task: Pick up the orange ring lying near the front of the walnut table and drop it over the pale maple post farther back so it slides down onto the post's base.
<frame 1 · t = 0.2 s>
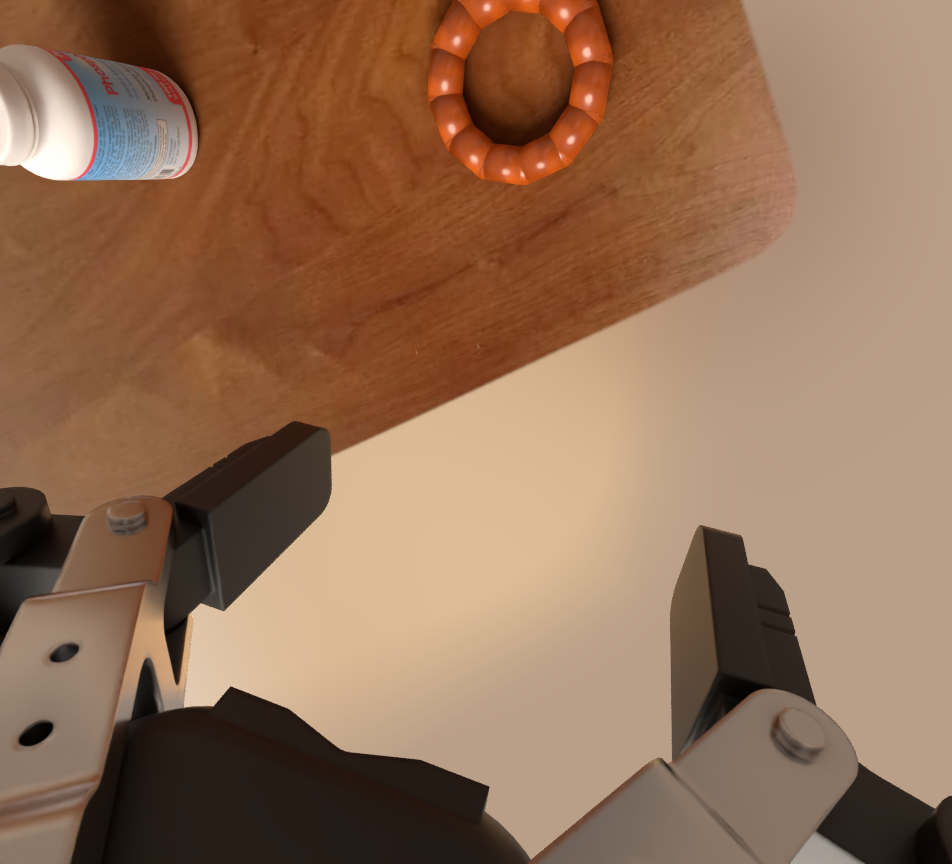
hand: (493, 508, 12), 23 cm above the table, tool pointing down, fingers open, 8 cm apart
ring: (516, 81, 27), point 1 cm above the table
pill bottle: (165, 126, 35), on the table
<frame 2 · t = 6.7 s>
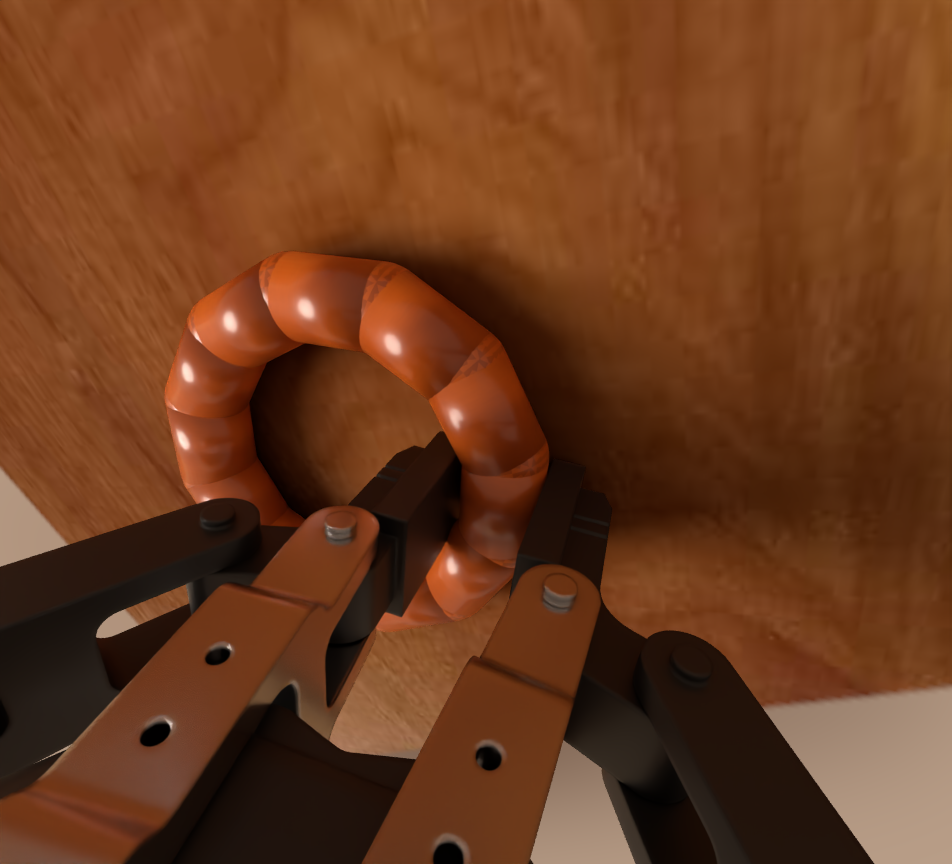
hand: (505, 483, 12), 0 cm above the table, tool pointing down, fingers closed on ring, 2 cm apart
ring: (347, 462, 13), point 1 cm above the table, touching gripper
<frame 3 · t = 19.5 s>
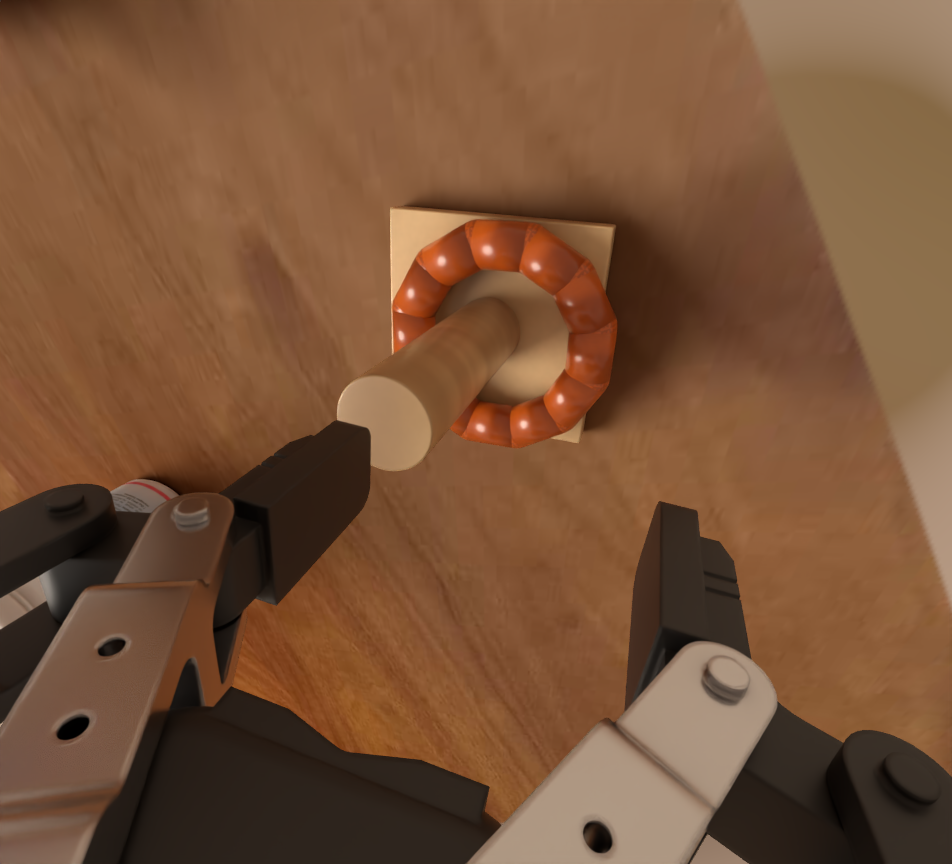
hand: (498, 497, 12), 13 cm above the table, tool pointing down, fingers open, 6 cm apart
ring: (498, 341, 22), point 2 cm above the table, touching post
post: (495, 323, 24), on the table
pill bottle: (165, 512, 37), on the table
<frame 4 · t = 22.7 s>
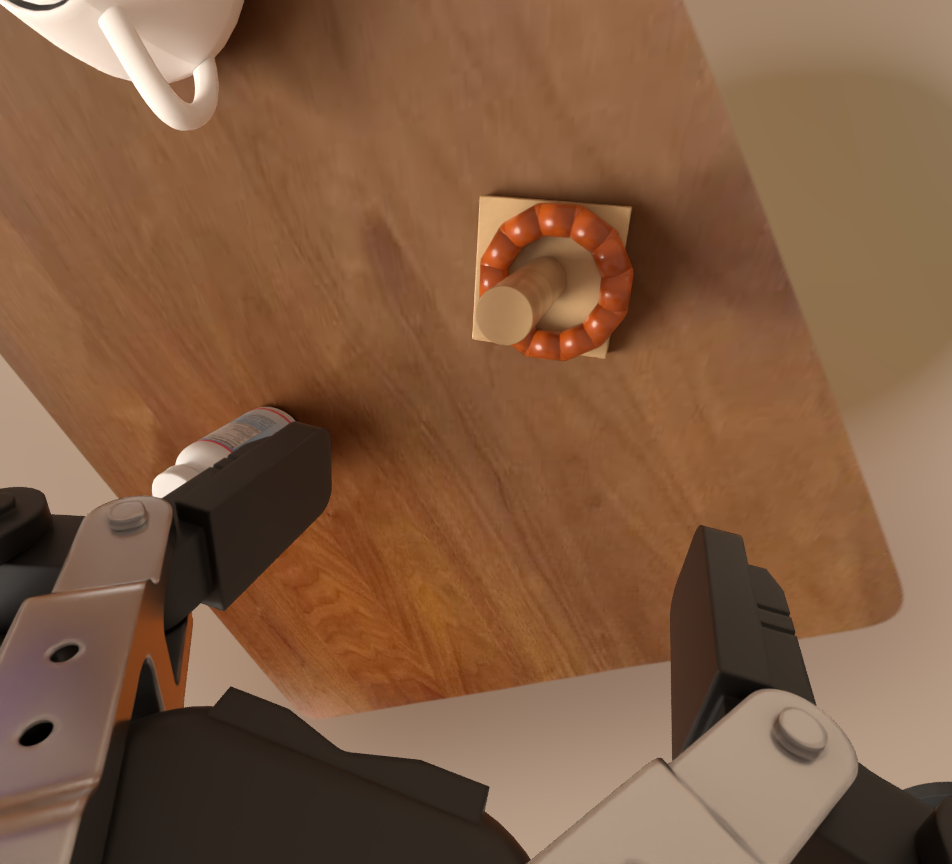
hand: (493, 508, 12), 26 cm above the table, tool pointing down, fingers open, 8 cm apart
ring: (552, 285, 33), point 2 cm above the table, touching post
post: (547, 276, 35), on the table
pill bottle: (279, 434, 48), on the table
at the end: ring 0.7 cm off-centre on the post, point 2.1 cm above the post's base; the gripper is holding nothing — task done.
